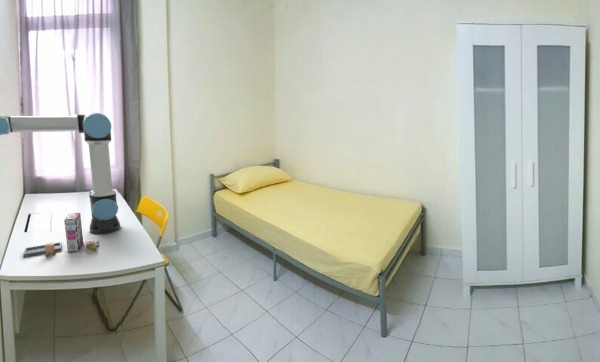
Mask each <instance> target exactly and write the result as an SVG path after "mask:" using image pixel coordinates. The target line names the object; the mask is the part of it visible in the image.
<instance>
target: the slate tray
mask: <svg viewBox="0 0 600 362" xmlns="http://www.w3.org/2000/svg"><path fill="white" fill-rule="evenodd" d="M53 243H54V246H55V253H57V252H62V251H63V250H62V249H63V243H62V242H53ZM45 245H46V244H42V245H35V246H29V247H25V249H24V251H23V258H27V257H32V256H39V255H44V254H45V255H46V252H45Z"/></svg>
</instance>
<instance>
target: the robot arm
mask: <svg viewBox="0 0 600 362" xmlns="http://www.w3.org/2000/svg"><path fill="white" fill-rule="evenodd" d="M50 132H51V133H52V132H56V133H57V132H60V133H61V132H76V133H78V134H83V137H84V142H86V143H87V144H88V152H89V161H90V171H91V172H90V173H91V182H92V190H90V191H89V192H88V197H89V202H90V204H89V205H90V211H91V212H90V213H91V220H90V223H89V228H88V229H89V233H91V234H99V235H100V234H108V233H114V232H116V231H118V230H120V228H121V222H120V220H119V217H118V216H117V214H118V211H119V205H118V202H117V191H115V190H114V189H113V181H112V172H111V160H110V158H111V157H110V149H109V143H111V141H112V133H111V132H112V123H111V120H110V119H109V118H108V117H107V116H106V115H105V114H104V113H101V112H100V113H99V112H91V113H81V114H80V113H79V114H74V116H73V115H72V116H70V115H69V116H67V115H65V116H64V115H62V116H61V115H59V116H57V115H56V116H54V115H53V116H51V115H50V116H49V115H48V116H47V115H46V116H44V115H43V116H42V115H41V116H40V115H39V116H38V115H37V116H36V115H35V116H32V115H31V116H30V115H29V116H28V115H27V116H24V115H22V116H21V115H16V116H15V115H14V116H13V115H12V116H11V115H10V116H7V115H6V116H5V115H4V116H2V115H0V136H1V135H9V134H10V133H50Z"/></svg>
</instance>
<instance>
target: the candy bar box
mask: <svg viewBox="0 0 600 362" xmlns="http://www.w3.org/2000/svg"><path fill="white" fill-rule="evenodd" d="M81 216H82V215H81V212H72V213H69V214H68V215H67V216H66V217H65V218H64V220H63V221H64V227H65V228H64V229H65V237H66V239H65V240H66V246H67V253H77V252H80V251H81V248H82V247H83V245H84V237H83V235H84V234H83V227H82V217H81Z"/></svg>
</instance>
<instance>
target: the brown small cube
mask: <svg viewBox="0 0 600 362" xmlns="http://www.w3.org/2000/svg"><path fill="white" fill-rule="evenodd" d="M54 243H55V242H50V243H46V244H44V245H45V252H46V254H45V256H46V257H53V256H55V255H56V253H57V252H55V246H54Z"/></svg>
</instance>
